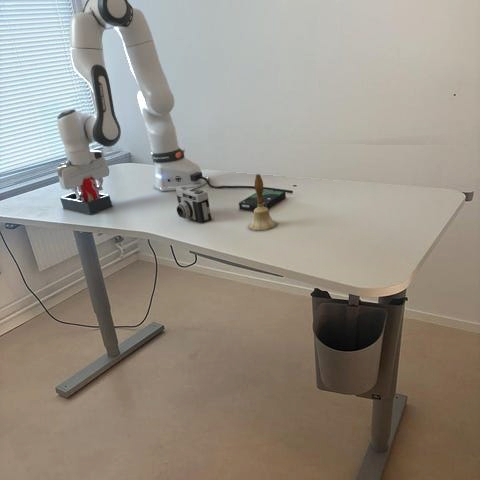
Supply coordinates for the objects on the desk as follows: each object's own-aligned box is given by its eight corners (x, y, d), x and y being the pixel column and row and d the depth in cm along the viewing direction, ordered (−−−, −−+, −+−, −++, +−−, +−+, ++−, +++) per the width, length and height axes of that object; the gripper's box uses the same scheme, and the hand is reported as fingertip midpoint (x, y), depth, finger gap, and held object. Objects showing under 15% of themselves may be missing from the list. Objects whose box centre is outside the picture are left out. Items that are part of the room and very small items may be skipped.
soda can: (97, 209, 188) (88, 178, 182) (81, 210, 190) (71, 179, 183) (105, 203, 194) (97, 173, 188) (89, 204, 195) (80, 174, 189)
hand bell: (257, 220, 159) (251, 170, 151) (280, 222, 155) (276, 171, 147) (244, 229, 153) (238, 178, 145) (268, 231, 149) (263, 179, 141)
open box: (112, 206, 192) (109, 194, 190) (90, 215, 186) (87, 203, 184) (84, 200, 204) (81, 189, 201) (63, 208, 198) (59, 197, 195)
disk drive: (264, 213, 164) (286, 198, 174) (263, 205, 162) (285, 190, 172) (239, 210, 169) (261, 196, 179) (238, 202, 168) (260, 188, 178)
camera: (170, 218, 171) (165, 190, 166) (190, 211, 175) (185, 183, 170) (192, 227, 161) (186, 197, 156) (212, 219, 165) (208, 190, 160)
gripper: (59, 166, 174) (71, 203, 181) (106, 151, 186) (116, 187, 193) (50, 164, 177) (62, 202, 185) (97, 150, 190) (106, 185, 197)
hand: (90, 194), depth 189 cm, fingers open, 8 cm apart
